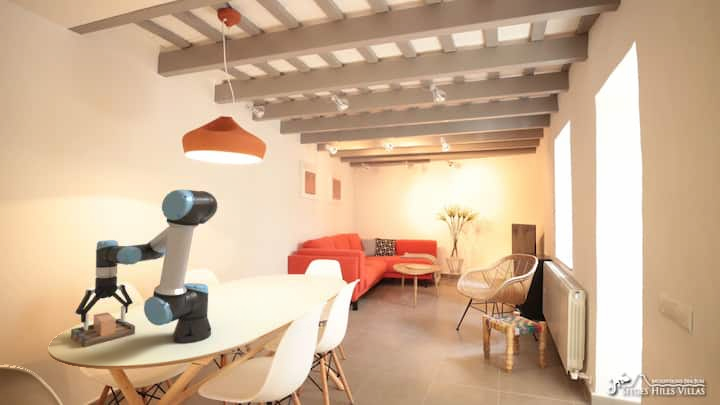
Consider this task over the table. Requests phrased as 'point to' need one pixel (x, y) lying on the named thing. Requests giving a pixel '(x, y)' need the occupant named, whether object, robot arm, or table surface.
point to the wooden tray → (94, 338)
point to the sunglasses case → (104, 324)
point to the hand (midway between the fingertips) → (105, 325)
